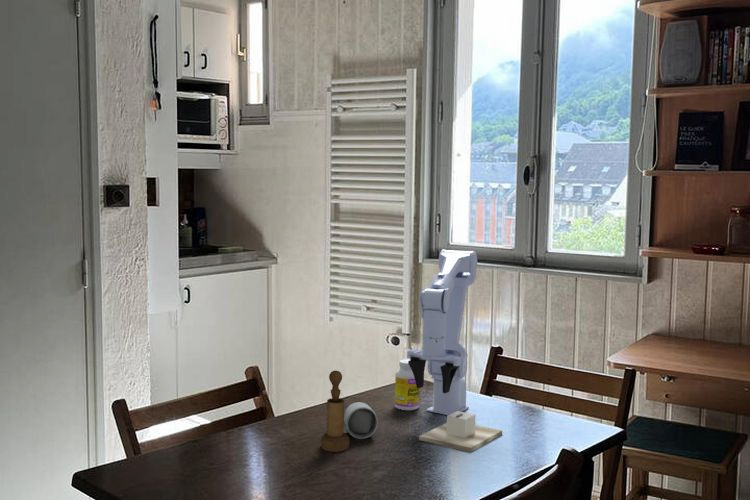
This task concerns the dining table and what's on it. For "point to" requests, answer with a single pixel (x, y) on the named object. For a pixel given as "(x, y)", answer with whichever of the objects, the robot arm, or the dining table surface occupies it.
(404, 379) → the supplement bottle
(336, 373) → the mortar and pestle
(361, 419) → the ceramic mug
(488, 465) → the dining table surface
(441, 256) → the robot arm
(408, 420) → the dining table surface
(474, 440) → the board
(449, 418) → the white cabinet with handle
